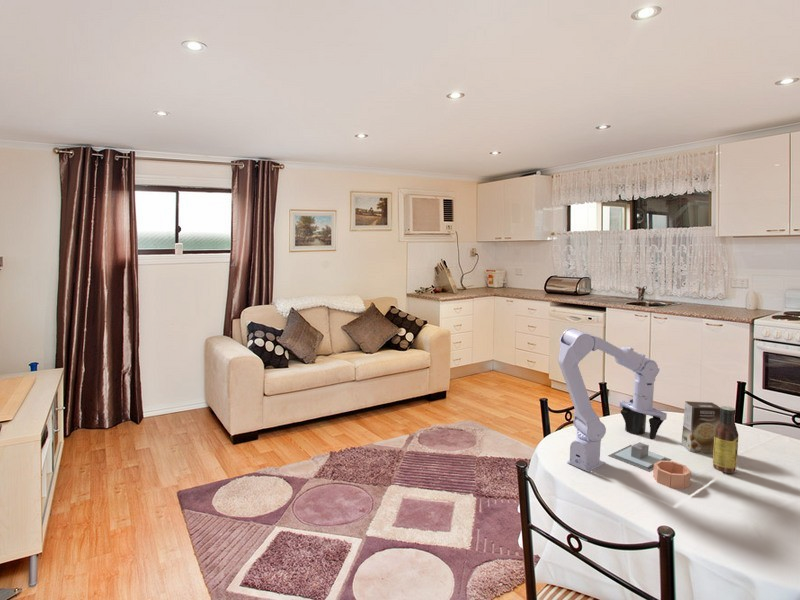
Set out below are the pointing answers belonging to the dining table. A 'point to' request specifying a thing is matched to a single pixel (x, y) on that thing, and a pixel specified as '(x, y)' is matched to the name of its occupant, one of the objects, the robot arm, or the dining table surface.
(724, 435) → the sauce bottle
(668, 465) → the bowl
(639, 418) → the supplement bottle
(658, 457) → the cover
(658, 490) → the dining table surface
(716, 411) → the coffee box
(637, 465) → the mat
